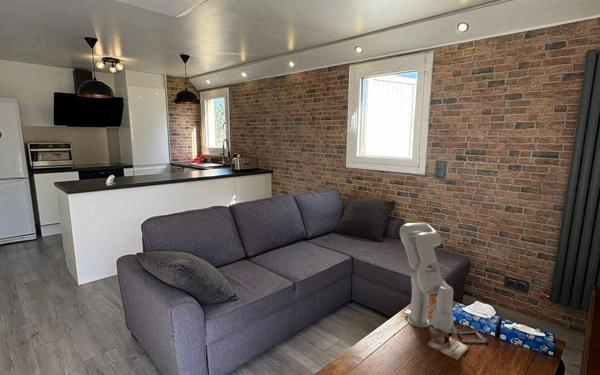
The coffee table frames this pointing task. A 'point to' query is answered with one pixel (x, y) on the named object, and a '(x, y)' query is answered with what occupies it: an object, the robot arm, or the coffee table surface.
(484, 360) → the coffee table surface
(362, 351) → the coffee table surface
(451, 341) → the pine board
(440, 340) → the walnut sanding block
